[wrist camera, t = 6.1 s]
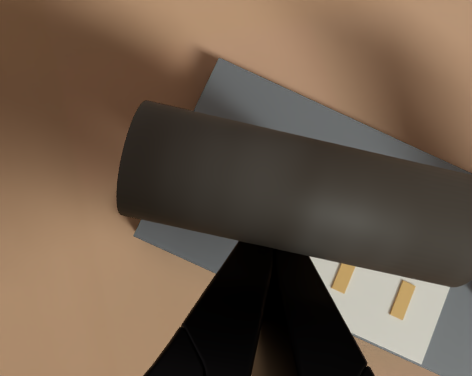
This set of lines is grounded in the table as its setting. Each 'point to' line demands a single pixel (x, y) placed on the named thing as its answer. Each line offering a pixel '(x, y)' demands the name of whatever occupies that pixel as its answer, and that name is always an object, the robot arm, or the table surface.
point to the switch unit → (332, 273)
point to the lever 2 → (296, 194)
